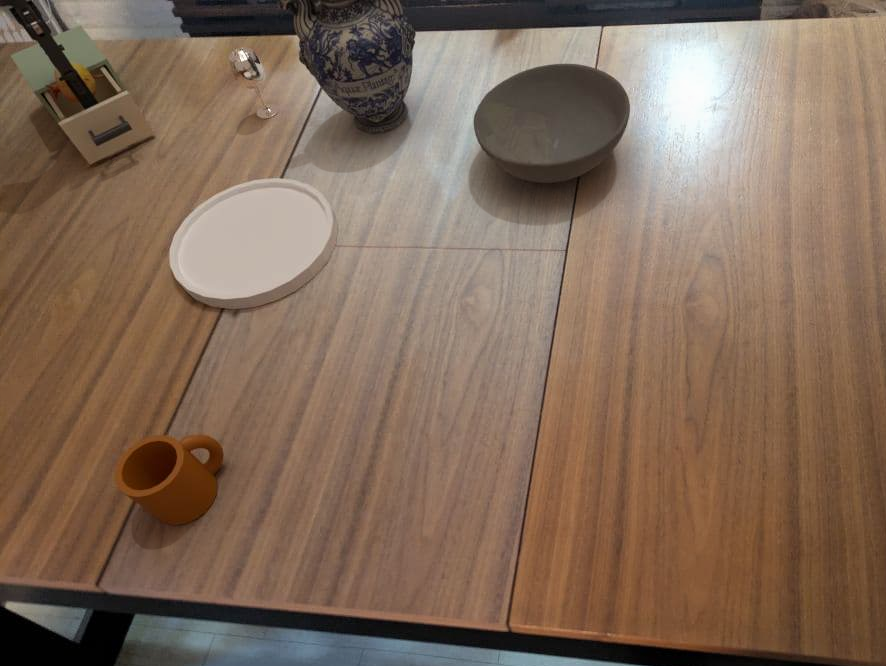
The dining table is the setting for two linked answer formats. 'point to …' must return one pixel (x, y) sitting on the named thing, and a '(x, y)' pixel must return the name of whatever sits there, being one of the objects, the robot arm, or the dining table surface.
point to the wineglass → (251, 76)
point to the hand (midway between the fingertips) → (85, 97)
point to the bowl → (552, 121)
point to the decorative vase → (358, 56)
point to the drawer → (101, 119)
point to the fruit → (64, 88)
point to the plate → (253, 243)
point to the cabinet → (42, 70)
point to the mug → (170, 476)
